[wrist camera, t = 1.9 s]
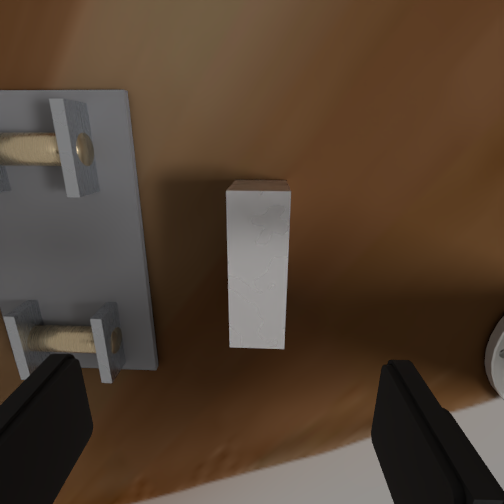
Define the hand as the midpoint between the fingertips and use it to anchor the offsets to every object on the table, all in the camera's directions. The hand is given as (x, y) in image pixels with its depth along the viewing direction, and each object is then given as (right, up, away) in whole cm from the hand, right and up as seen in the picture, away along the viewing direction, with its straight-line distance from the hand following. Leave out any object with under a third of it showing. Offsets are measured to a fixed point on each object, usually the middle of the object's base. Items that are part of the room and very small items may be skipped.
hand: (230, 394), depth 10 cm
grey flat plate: (-13, +5, +14) cm, 20 cm away
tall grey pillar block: (+1, +5, +14) cm, 15 cm away
